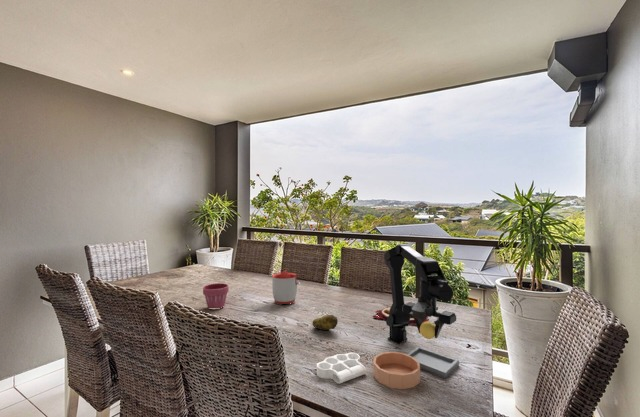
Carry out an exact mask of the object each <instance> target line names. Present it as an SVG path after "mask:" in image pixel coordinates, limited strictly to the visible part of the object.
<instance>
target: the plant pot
mask: <svg viewBox="0 0 640 417" xmlns="http://www.w3.org/2000/svg"><path fill="white" fill-rule="evenodd" d="M229 288H230V287H229V284H227V283H223V282H222V283H221V282H219V283H218V282H217V283H210V284H206V285H204V286H202V294H203V295H204V297H205V302H206V306H207V309H208V308H221V307H223V306H224V307H225V304H226V300H227V296H228V293H229Z"/></svg>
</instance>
